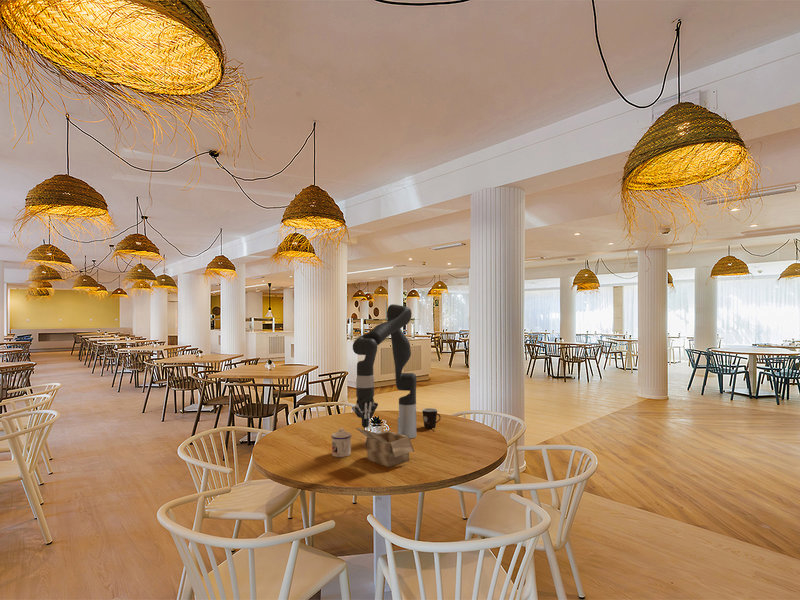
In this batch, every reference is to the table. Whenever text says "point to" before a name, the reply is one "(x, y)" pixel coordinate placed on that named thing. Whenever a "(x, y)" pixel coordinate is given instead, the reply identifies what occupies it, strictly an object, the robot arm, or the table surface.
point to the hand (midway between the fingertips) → (365, 427)
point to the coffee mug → (430, 417)
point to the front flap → (371, 435)
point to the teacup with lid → (341, 443)
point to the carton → (389, 449)
